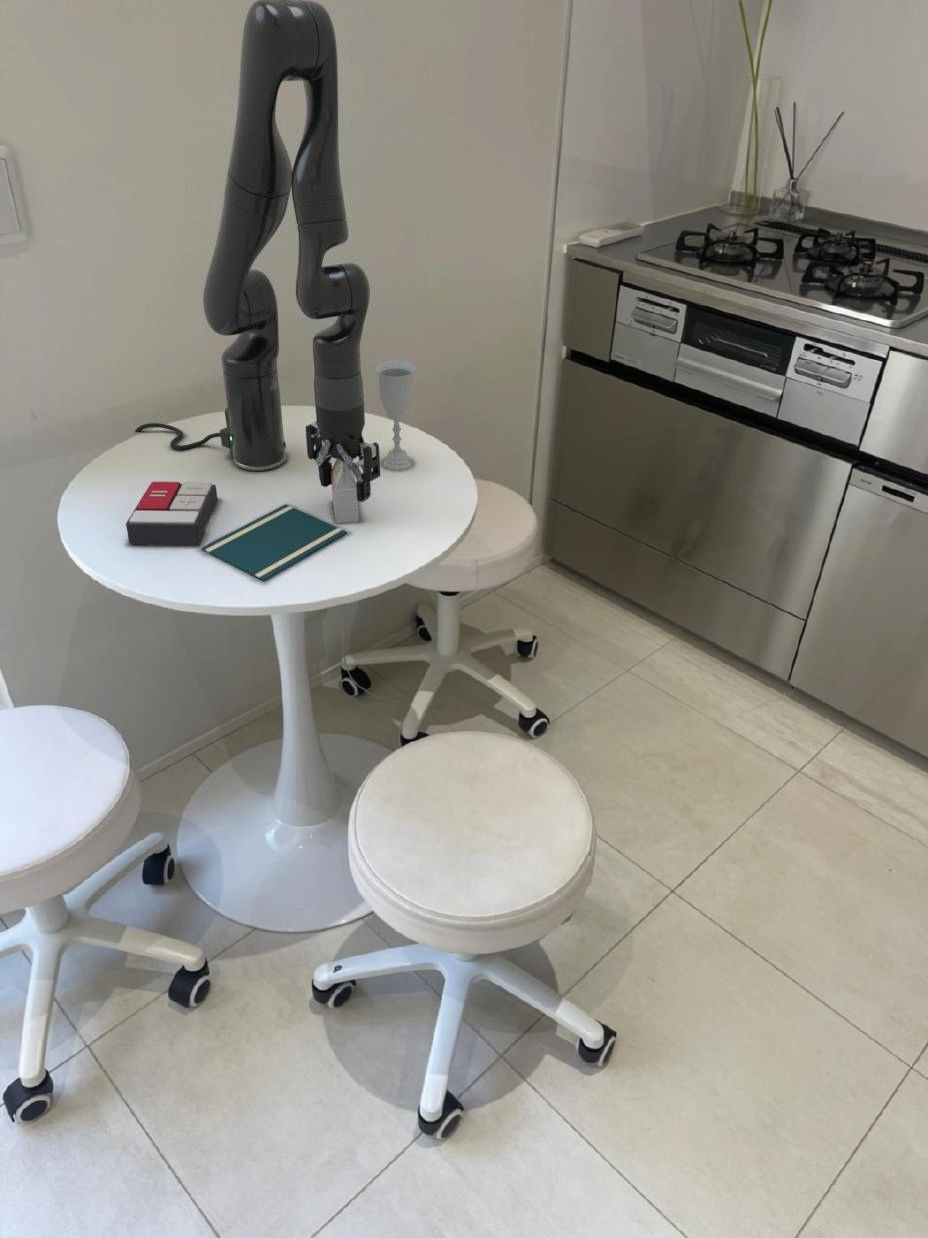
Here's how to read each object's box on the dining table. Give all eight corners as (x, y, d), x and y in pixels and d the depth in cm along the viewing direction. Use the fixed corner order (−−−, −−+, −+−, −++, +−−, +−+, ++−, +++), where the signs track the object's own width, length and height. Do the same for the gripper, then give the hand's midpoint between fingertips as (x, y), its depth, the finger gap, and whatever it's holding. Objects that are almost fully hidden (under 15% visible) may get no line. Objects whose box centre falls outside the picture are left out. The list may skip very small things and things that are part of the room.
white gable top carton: (354, 501, 163) (351, 447, 157) (358, 521, 157) (356, 466, 151) (332, 503, 162) (329, 449, 156) (336, 523, 157) (332, 468, 151)
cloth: (201, 549, 149) (201, 547, 149) (285, 506, 161) (285, 503, 160) (263, 581, 142) (263, 579, 142) (347, 533, 154) (346, 531, 154)
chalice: (410, 474, 171) (409, 378, 160) (373, 470, 172) (370, 374, 161) (420, 456, 177) (419, 362, 166) (384, 452, 178) (382, 358, 167)
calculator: (215, 479, 160) (195, 520, 147) (218, 503, 162) (199, 545, 150) (149, 478, 160) (124, 519, 147) (153, 502, 162) (128, 544, 149)
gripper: (390, 403, 147) (392, 497, 156) (323, 379, 154) (329, 471, 163) (357, 418, 142) (361, 514, 152) (289, 394, 149) (297, 487, 158)
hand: (344, 492), depth 157 cm, fingers closed on white gable top carton, 7 cm apart
